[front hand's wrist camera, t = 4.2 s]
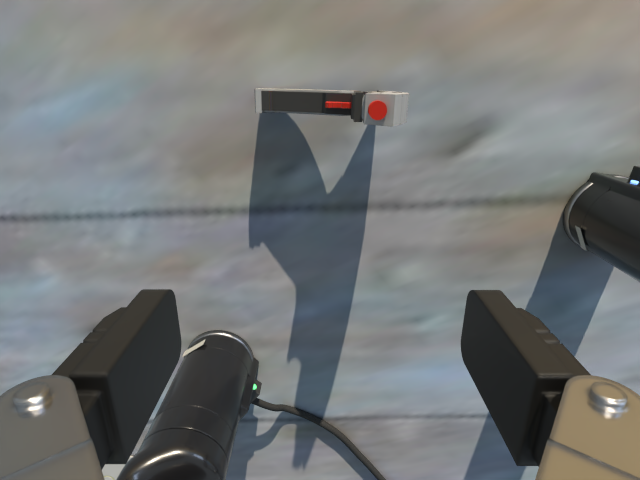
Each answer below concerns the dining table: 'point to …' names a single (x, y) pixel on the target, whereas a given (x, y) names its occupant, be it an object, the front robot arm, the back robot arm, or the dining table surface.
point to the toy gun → (337, 104)
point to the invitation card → (112, 470)
